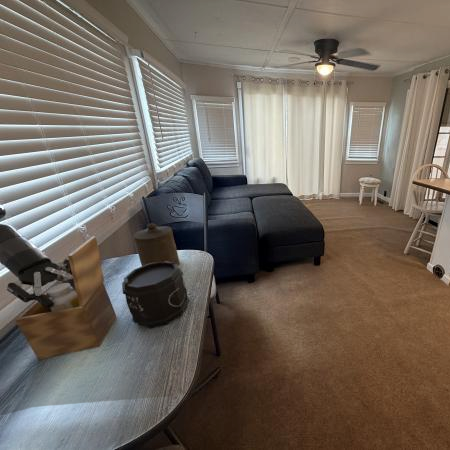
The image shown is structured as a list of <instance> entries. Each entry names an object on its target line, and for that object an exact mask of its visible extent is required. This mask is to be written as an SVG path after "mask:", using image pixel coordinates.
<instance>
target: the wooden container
mask: <svg viewBox="0 0 450 450" xmlns="http://www.w3.org/2000/svg"><path fill="white" fill-rule="evenodd" d="M133 239H134V243H135V246H136V249H137V254H138V258H139V261H140V265H141V266H144V265H146V264H149V263H155V262H161V261H163V262H165V261H167V262H173V263H175V264H176V265H179V266H180V265H181V263H180V258H179V253H178V249H177V246H176V242H175V238H174V233H173V230H172V228H171V226H167V225H158V226H157V224H155V223H153V222H151V223H149V224H147V225H146V228H144V229H141V230H139V231H137V232H135V233H134V234H133Z"/></svg>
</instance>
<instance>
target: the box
mask: <svg viewBox="0 0 450 450" xmlns="http://www.w3.org/2000/svg"><path fill="white" fill-rule="evenodd" d="M71 289H73V288H72V287H71ZM74 290H75V289H74ZM44 294H45V295H46V296H47V297H48V298H50V297H51V296H49V295H48V292H47V291H46V292H45V293H44ZM117 318H118V317H117V315H116V311H115V309H114V307H113V304H112V301H111V298H110V296H109V294H108V291H107V289H106V286H105V283H104V282H103V283H102V284H101V285H100V286H99V288H98V289H97V290H96V291H95V293H94V294H93V295H92V296H91V298H90V299H89V300H88V301H87V302H86V304H85V305H84V306H81V307H76V308H70V309H65V310H59V311H54V312H52V310H51V309H50V308H49V307H44V306H42V305H41V304H40V303H39V302H38V301H37V300H35V301H34V302H33V303H32V304H31V305H29V307H27V308H26V309H25V311H23V312H22V313H21V314H19V316H17V317H16V318H15V319H14V320H15V324H17V326H18V328H19V329H20V331H21V333H22V335H23V336H24V338H25V340H26V341H27V343H28V344H29V346H30V348H31V350H32V351H33V353H34V355H35V357H36V358H37V360H38V361H40V360H45V359H49V358H53V357H54V358H55V357H58V356H63V355H67V354H72V353H76V352H77V353H78V352H81V351H85V350H91V349H96V348H99V347H101V345H102V343H103V341H104V340H105V338H106V336H107V335H108V333H109V331H110V330H111V328H112V326H113V325H114V323H115V321H116V320H117Z"/></svg>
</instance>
